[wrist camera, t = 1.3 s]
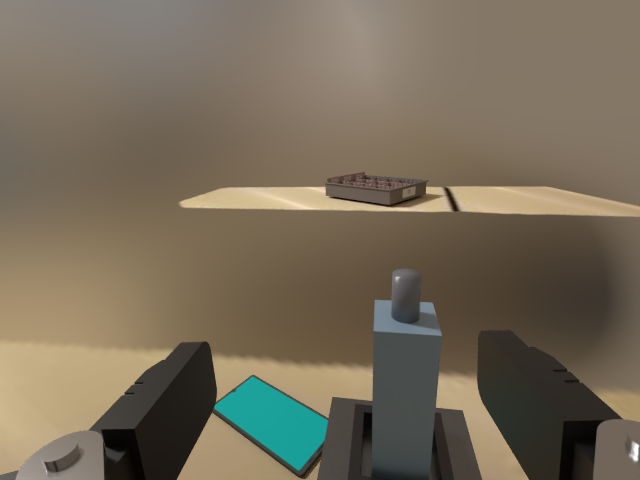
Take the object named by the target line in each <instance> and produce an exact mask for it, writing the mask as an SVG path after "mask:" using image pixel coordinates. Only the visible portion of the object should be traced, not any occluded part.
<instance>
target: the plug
mask: <svg viewBox="0 0 640 480" xmlns="http://www.w3.org/2000/svg"><path fill="white" fill-rule="evenodd" d="M421 283H422V274H421V273H420V272H419V271H416V270H412V269H398V270H395V271H394V272H393V277H392V301H386V300H375V313H374V343H373V345H374V347H373V408H372V473H371V477H375V478H382V479H389V480H429V476H430V464H431V453H432V442H433V431H434V419H435V408H436V397H437V386H438V375H439V363H440V352H441V341H442V334H441V331H440V327H439V324H438V320H437V317H436V313H435V309H434V306H433V303H425V302H420V300H421Z"/></svg>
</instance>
